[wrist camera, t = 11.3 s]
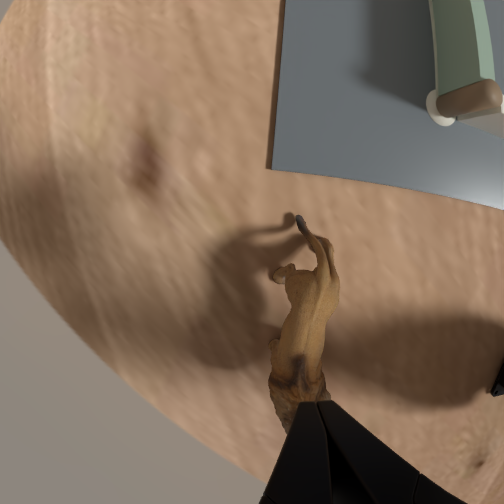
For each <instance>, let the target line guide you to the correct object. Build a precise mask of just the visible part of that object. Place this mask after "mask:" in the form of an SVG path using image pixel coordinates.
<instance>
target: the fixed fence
mask: <svg viewBox="0 0 504 504" xmlns="http://www.w3.org/2000/svg"><path fill="white" fill-rule="evenodd" d="M502 95H503V94H502ZM457 121H459V122H461V123H464V124H467V125H470V126H472V127H475V128H478V129H480V130H483V131H486V132H488V133H491V134H493V135H496V136H498V137H500V138H503V139H504V95H503V102H502V104H501V106H499V107H495V108H491V109H486V110H481V111H477V112H472V113H468V114H464V115H459V116H458V120H457Z"/></svg>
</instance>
